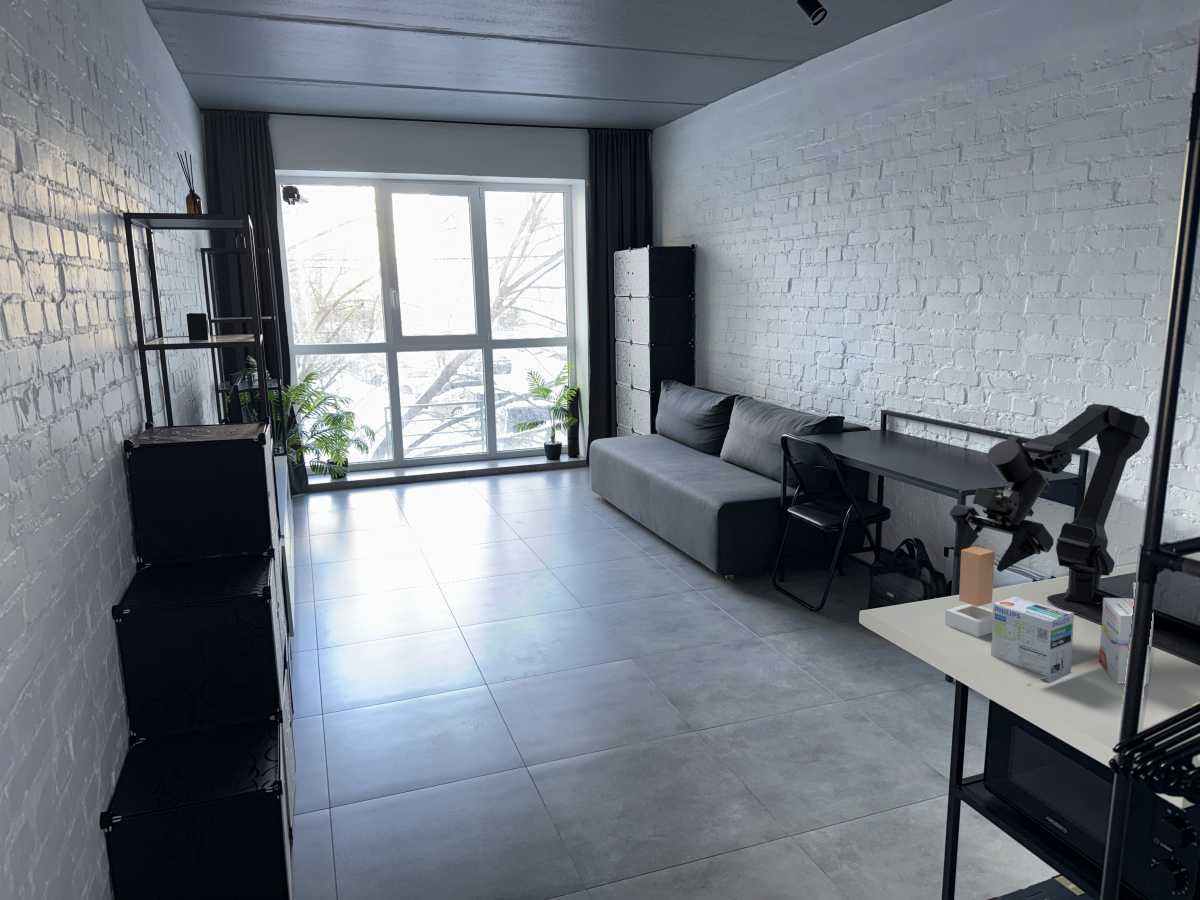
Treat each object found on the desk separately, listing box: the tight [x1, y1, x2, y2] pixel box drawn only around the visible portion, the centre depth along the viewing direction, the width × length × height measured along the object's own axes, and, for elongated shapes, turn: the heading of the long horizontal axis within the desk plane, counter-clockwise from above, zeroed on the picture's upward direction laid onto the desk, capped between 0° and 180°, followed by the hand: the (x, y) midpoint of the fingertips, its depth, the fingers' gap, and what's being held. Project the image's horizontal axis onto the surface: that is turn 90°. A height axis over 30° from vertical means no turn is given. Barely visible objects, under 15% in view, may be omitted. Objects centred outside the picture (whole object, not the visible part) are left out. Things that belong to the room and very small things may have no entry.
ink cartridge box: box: [1098, 581, 1155, 686], centre depth 140 cm, size 9×5×15 cm, turn 168°
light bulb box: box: [990, 595, 1075, 684], centre depth 144 cm, size 11×7×11 cm, turn 32°
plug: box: [958, 546, 996, 607], centre depth 158 cm, size 4×4×10 cm
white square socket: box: [944, 603, 993, 638], centre depth 160 cm, size 7×7×3 cm
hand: (976, 563), depth 158 cm, fingers open, 9 cm apart
